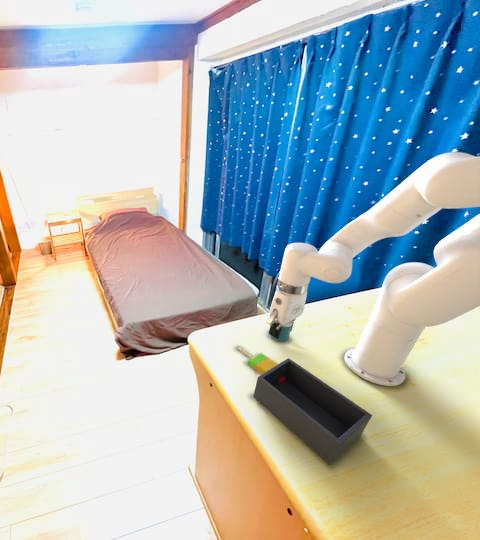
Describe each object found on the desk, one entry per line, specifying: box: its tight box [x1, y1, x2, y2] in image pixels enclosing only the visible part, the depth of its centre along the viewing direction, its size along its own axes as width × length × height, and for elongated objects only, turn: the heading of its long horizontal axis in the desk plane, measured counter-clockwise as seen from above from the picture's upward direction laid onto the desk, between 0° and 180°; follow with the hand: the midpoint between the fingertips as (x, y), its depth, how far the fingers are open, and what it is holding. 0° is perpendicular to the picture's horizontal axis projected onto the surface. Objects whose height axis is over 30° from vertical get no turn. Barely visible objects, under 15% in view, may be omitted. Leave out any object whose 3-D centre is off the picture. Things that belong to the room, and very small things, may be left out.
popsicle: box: [237, 346, 285, 383], centre depth 80 cm, size 6×3×15 cm
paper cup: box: [269, 320, 294, 343], centre depth 88 cm, size 5×5×7 cm
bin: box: [252, 357, 373, 465], centre depth 65 cm, size 12×19×8 cm, turn 28°
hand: (280, 332), depth 89 cm, fingers closed on paper cup, 5 cm apart
